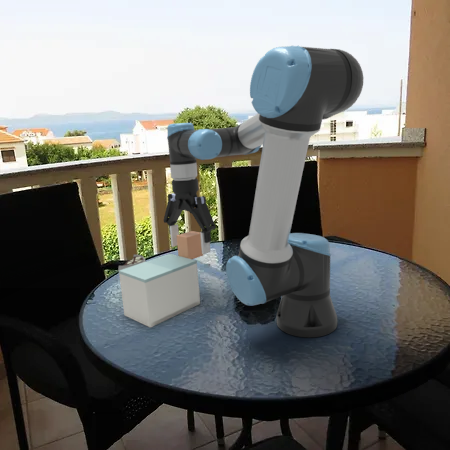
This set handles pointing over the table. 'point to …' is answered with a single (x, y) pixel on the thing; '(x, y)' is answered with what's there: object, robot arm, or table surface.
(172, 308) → the tub
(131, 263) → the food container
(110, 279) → the table surface
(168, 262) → the lid
